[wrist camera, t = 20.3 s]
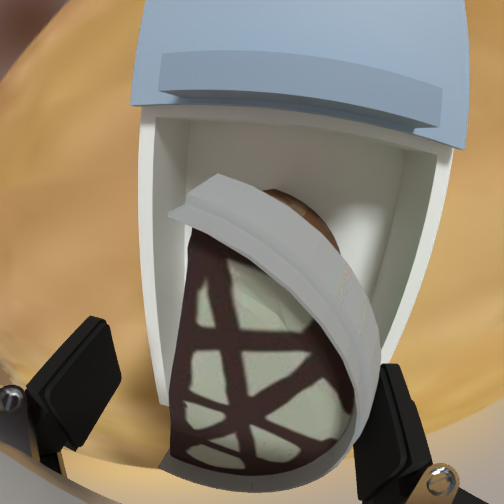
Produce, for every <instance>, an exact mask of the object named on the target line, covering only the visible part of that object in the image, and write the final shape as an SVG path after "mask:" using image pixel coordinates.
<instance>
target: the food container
mask: <svg viewBox="0 0 504 504" xmlns="http://www.w3.org/2000/svg"><path fill="white" fill-rule="evenodd" d="M168 217H170V218H172V219H174V220H177V221H179V222H181V223H184V224H186V225H188V226H190V227H192V232H191V236H190V240H189V243H188V247H187V254H188V262H187V272H186V282H185V288H184V295H183V302H182V309H181V317H180V323H179V329H178V336H177V342H176V349H175V355H174V360H173V366H172V371H171V378H170V386H169V409H170V417H171V434H170V448H169V450H168V452H167V453H166V455H165V457H164V458H163V460H162V462H161V463H160V465H159V467H158V468H160V469H162V470H164V471H166V472H168V473H170V474H172V475H175V476H177V477H180V478H182V479H185V480H188V481H191V482H194V483H197V484H200V485H204V486H208V487H212V488H216V489H222V490H228V491H236V492H248V493H262V492H276V491H283V490H289V489H292V488H296V487H299V486H303V485H306V484H308V483H311V482H313V481H315V480H317V479H319V478H321V477H323V476H324V475H326V474H327V473H329V472H330V471H331V470H333V469H334V468H335V467H337V466H338V464H339V463H340V462H341V461H342V460H343V459H344V458H345V457H346V455H347V454H348V453H349V451H350V449H351V447H352V445H353V444H354V443H355V442H356V440H357V439H358V438H359V437H360V435H361V433H362V431H363V429H364V426H365V424H366V422H367V420H368V418H369V414H370V411H371V407H372V404H373V400H374V396H375V392H376V388H377V384H378V379H379V372H380V364H381V348H380V338H379V329H378V326H377V323H376V319H375V316H374V313H373V310H372V308H371V305H370V302H369V299H368V297H367V295H366V293H365V291H364V289H363V288H362V286H361V284H360V283H359V281H358V279H357V277H356V276H355V274H354V272H353V271H352V269H351V267H350V265H349V264H348V263H347V262H346V261H345V260H344V258H343V257H342V256H341V254H340V250H339V247H338V245H337V242H336V240H335V238H334V235H333V234H332V232H331V231H330V229H329V228H328V226H327V225H326V223H325V222H324V221H323V220H322V219H321V218H320V217H319V215H318V214H317V213H316V212H315V211H314V210H312V209H311V208H310V207H309V206H307V205H306V204H305V203H304V202H302V201H300V200H298V199H297V198H295V197H293V196H291V195H290V194H287V193H284V192H282V191H279V190H276V189H269V190H263V191H261V190H259V189H257V188H255V187H254V186H252V185H249V184H246V183H244V182H241V181H238V180H235V179H233V178H230V177H227V176H224V175H221V174H218V173H217V174H216V175H214V176H213V177H211V178H209V179H208V180H206V181H205V182H203V183H202V184H200V185H199V186H197V187H196V188H194V189H193V190H191V191H190V192H188V193H187V200H186V204H185V205H183V206H181V207H179V208H177V209H175V210H173V211H171V212H169V213H168Z"/></svg>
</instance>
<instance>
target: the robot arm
mask: <svg viewBox="0 0 504 504" xmlns="http://www.w3.org/2000/svg"><path fill="white" fill-rule="evenodd" d="M120 382H121V372H120V368H119V364H118V360H117V356H116V352H115V348H114V344H113V340H112V335H111V330H110V327H109V325H108V324H107V323H106V321H105V320H104V319H101V318H98V317H94V316H89V317H88V318H87V319H86V320H85V321H84V322H83V323H82V324H81V325H80V326H79V327H78V328H77V329H76V330H75V332H74V333H73V334H72V335H71V336H70V337H69V338H68V339H67V340H66V341H65V342H64V343H63V344H62V346H61V347H60V348H59V349H58V350H57V351H56V352H55V353H54V354H53V355H52V357H51V358H50V359H49V360H48V361H47V362H46V363H45V364H44V366H43V367H42V368H41V369H40V370H39V371H38V372H37V374H36V375H35V376H34V377H33V378H32V379H31V381H30V382H29V383H28V384H27V385H26V387H27V389H26V390H25V391H24V390H23V389H22V388H21V387H20V386H17V385H6V386H4V387H2V388H0V504H121V503H118V502H116V501H113V500H111V499H109V498H106V497H104V496H102V495H100V494H98V493H95V492H93V491H91V490H89V489H87V488H85V487H83V486H81V485H79V484H77V483H75V482H73V481H71V480H70V479H68V478H67V474H66V471H65V467H64V462H63V458H62V454H61V449H62V448H63V446H65V447H67V448H69V449H71V450H73V451H75V452H76V450H77V448H78V447H81V446H83V444H84V443H85V441H86V439H87V438H88V436H89V434H90V432H91V431H92V429H93V427H94V426H95V424H96V422H97V421H98V419H99V417H100V416H101V414H102V412H103V411H104V409H105V407H106V406H107V404H108V402H109V401H110V399H111V397H112V396H113V394H114V393H115V391H116V389H117V388H118V386H119V384H120ZM353 449H354V458H355V469H356V481H357V494H358V499H359V500H361V501H362V504H488V503H486V502H484V501H483V500H481V499H479V498H477V497H475V496H473V495H472V494H470V493H468V492H466V491H465V490H463V489H461V488H460V487H459V484H460V483H459V476H458V473H457V472H456V471H455V469H454V468H453V467H451V466H450V465H447V464H444V463H437V464H434V465H433V463H432V458H431V455H430V451H429V447H428V444H427V440H426V437H425V433H424V430H423V427H422V423H421V420H420V417H419V414H418V411H417V408H416V405H415V403H414V401H413V400H411V397H410V394H409V391H408V388H407V385H406V383H405V380H404V377H403V374H402V371H401V369H400V366H399V365H398V364H389V363H382V364H381V365H380V372H379V379H378V384H377V388H376V392H375V396H374V400H373V404H372V407H371V411H370V414H369V418H368V420H367V422H366V424H365V426H364V429H363V431H362V433H361V435H360V437H359V438H358V439H357V440H356V442H355V443H354V444H353Z"/></svg>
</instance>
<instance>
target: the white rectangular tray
mask: <svg viewBox="0 0 504 504" xmlns="http://www.w3.org/2000/svg"><path fill="white" fill-rule="evenodd" d="M453 149H454V148H453V147H450V146H447V145H444V144H441V143H438V142H435V141H431V140H428V139H425V138H421V137H418V136H414V135H411V134H407V133H403V132H400V131H396V130H392V129H388V128H384V127H379V126H375V125H371V124H366V123H361V122H356V121H351V120H346V119H341V118H335V117H329V116H323V115H317V114H310V113H303V112H295V111H287V110H278V109H268V108H256V107H242V106H222V105H157V106H142V108H141V121H140V138H139V164H138V217H139V244H140V261H141V275H142V287H143V297H144V307H145V316H146V324H147V332H148V339H149V346H150V353H151V359H152V365H153V371H154V377H155V382H156V388H157V393H158V398H159V403H160V404H161V405H165V406H168V407H169V386H170V378H171V371H172V366H173V360H174V355H175V349H176V342H177V336H178V329H179V323H180V317H181V309H182V302H183V295H184V288H185V282H186V272H187V262H188V254H187V247H188V243H189V240H190V236H191V232H192V227H190V226H188V225H186V224H184V223H181V222H179V221H177V220H174V219H172V218H170V217H168V213H169V212H171V211H173V210H175V209H177V208H179V207H181V206H183V205H185V204H186V200H187V193H188V192H190V191H191V190H193V189H194V188H196V187H197V186H199V185H200V184H202V183H203V182H205V181H206V180H208V179H209V178H211V177H213V176H214V175H216V174H217V173H218V174H221V175H224V176H227V177H230V178H233V179H235V180H238V181H241V182H244V183H246V184H249V185H252V186H254V187H255V188H257V189H259V190H261V191H263V190H269V189H276V190H279V191H282V192H284V193H287V194H290V195H291V196H293V197H295V198H297V199H298V200H300V201H302V202H304V203H305V204H306V205H307V206H309V207H310V208H311V209H312V210H314V211H315V212H316V213H317V214H318V215H319V217H320V218H321V219H322V220H323V221H324V222H325V223H326V225H327V226H328V228H329V229H330V231H331V232H332V234H333V235H334V238H335V240H336V242H337V245H338V247H339V250H340V254H341V256H342V257H343V258H344V260H345V261H346V262H347V263H348V264H349V265H350V267H351V269H352V271H353V272H354V274H355V276H356V277H357V279H358V281H359V283H360V284H361V286H362V288H363V289H364V291H365V293H366V295H367V297H368V299H369V302H370V305H371V308H372V310H373V313H374V316H375V319H376V323H377V326H378V329H379V338H380V348H381V364H382V363H389V361H390V359H391V357H392V355H393V353H394V350H395V348H396V346H397V344H398V342H399V339H400V337H401V335H402V332H403V330H404V328H405V325H406V323H407V320H408V318H409V315H410V313H411V310H412V308H413V305H414V302H415V300H416V297H417V294H418V292H419V289H420V286H421V283H422V280H423V277H424V274H425V271H426V268H427V265H428V262H429V258H430V255H431V252H432V248H433V245H434V241H435V238H436V234H437V230H438V226H439V222H440V218H441V214H442V210H443V205H444V201H445V196H446V191H447V186H448V181H449V175H450V169H451V163H452V156H453ZM381 364H380V365H381Z"/></svg>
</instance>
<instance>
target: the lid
mask: <svg viewBox="0 0 504 504" xmlns="http://www.w3.org/2000/svg"><path fill="white" fill-rule="evenodd" d="M469 86H470V64H469V41H468V29H467V19H466V11H465V4H464V0H146V3H145V7H144V12H143V17H142V22H141V27H140V32H139V38H138V44H137V51H136V57H135V65H134V72H133V81H132V90H131V101H130V106H157V105H222V106H242V107H256V108H268V109H278V110H287V111H295V112H303V113H310V114H317V115H323V116H329V117H335V118H341V119H346V120H351V121H356V122H361V123H366V124H371V125H375V126H379V127H384V128H388V129H392V130H396V131H400V132H403V133H407V134H411V135H414V136H418V137H421V138H425V139H428V140H431V141H435V142H438V143H441V144H444V145H447V146H450V147H453V148H456V149H461V150H465V142H466V134H467V123H468V110H469Z"/></svg>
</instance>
